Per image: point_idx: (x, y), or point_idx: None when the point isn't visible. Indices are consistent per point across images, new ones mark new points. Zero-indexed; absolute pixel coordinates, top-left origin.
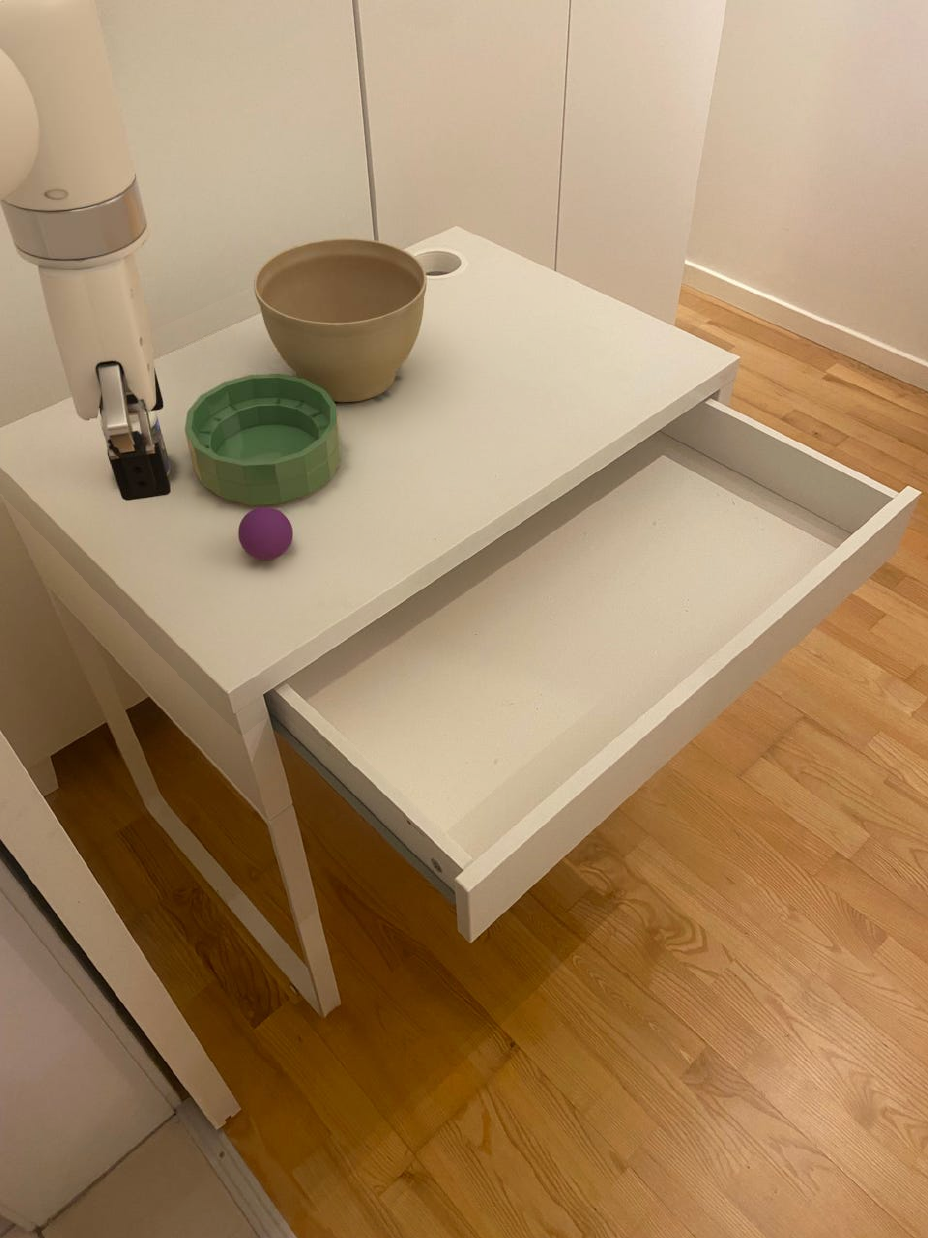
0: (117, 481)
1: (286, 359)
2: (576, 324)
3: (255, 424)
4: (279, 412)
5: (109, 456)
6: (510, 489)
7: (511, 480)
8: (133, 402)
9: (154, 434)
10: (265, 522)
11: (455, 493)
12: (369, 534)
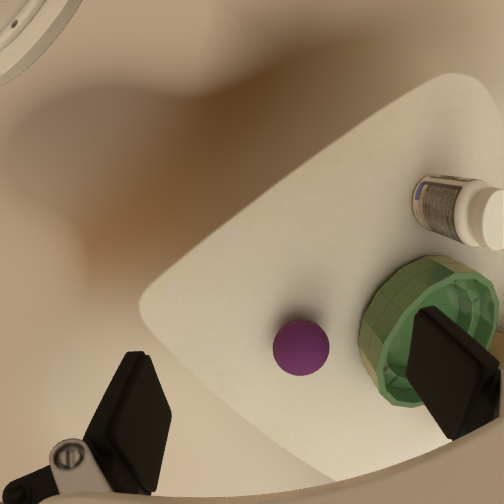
0: (113, 379)
1: (499, 350)
2: None
3: (460, 308)
4: None
5: (87, 430)
6: (328, 465)
7: (336, 464)
8: (423, 350)
9: (456, 239)
10: (294, 366)
11: (334, 443)
12: (303, 403)
